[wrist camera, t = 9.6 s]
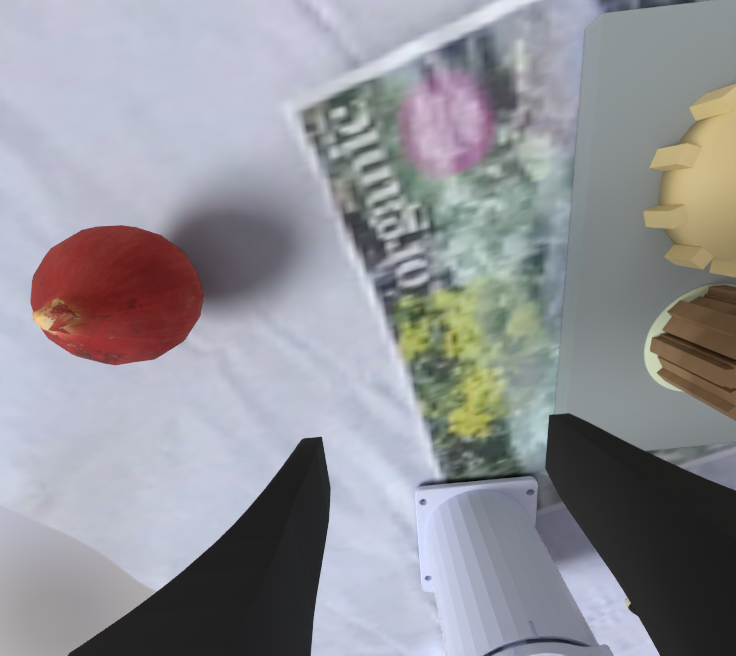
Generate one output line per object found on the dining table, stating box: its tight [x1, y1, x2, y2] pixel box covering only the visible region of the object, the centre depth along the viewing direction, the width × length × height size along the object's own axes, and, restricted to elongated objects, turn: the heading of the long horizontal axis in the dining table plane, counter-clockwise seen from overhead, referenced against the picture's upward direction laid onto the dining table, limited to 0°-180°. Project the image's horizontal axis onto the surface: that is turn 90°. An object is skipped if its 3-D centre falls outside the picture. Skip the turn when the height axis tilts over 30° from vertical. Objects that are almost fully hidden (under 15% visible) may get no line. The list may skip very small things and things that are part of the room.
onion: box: [31, 225, 203, 365], centre depth 15 cm, size 6×6×8 cm
